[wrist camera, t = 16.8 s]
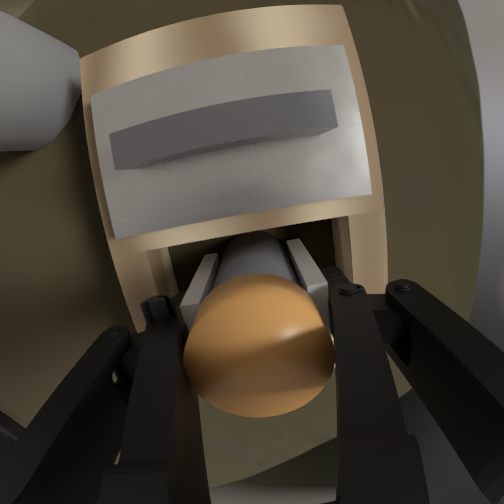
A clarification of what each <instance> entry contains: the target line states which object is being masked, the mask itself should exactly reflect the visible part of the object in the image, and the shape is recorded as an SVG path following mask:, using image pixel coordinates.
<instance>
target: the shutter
mask: <svg viewBox="0 0 504 504" xmlns="http://www.w3.org/2000/svg"><path fill="white" fill-rule="evenodd" d="M90 97H91V107H92V116H93V125H94V132H95V140H96V146H97V153H98V159H99V165H100V170H101V176H102V181H103V186H104V191H105V196H106V200H107V205H108V209H109V214H110V218H111V222H112V226H113V230H114V234H115V238H116V240H117V239H122V238H126V237H131V236H135V235H140V234H145V233H149V232H154V231H159V230H164V229H169V228H174V227H179V226H184V225H189V224H194V223H199V222H204V221H209V220H215V219H220V218H225V217H231V216H236V215H242V214H248V213H253V212H259V211H265V210H271V209H277V208H283V207H289V206H295V205H301V204H308V203H314V202H321V201H328V200H334V199H341V198H348V197H355V196H363V195H370V194H372V190H371V181H370V173H369V165H368V158H367V152H366V145H365V139H364V133H363V127H362V122H361V117H360V112H359V107H358V102H357V97H356V93H355V88H354V84H353V80H352V75H351V71H350V67H349V63H348V60H347V56H346V52H345V49H344V45H316V46H297V47H285V48H274V49H265V50H257V51H250V52H243V53H237V54H231V55H226V56H220V57H215V58H210V59H206V60H201V61H197V62H192V63H188V64H184V65H180V66H177V67H173V68H169V69H166V70H162V71H159V72H155V73H152V74H149V75H146V76H143V77H140V78H137V79H134V80H131V81H128V82H125V83H122V84H120V85H117V86H114V87H112V88H109V89H107V90H104V91H102V92H99V93H97V94H94V95H92V96H90Z"/></svg>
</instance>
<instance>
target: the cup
mask: <svg viewBox="0 0 504 504" xmlns="http://www.w3.org/2000/svg"><path fill="white" fill-rule="evenodd" d="M80 95H81V70H80V58H79V55H78V52H77V51H76V50H74V49H73V48H71V47H69V46H68V45H66V44H64V43H62V42H60V41H59V40H57V39H55V38H53V37H51V36H49V35H48V34H46V33H44V32H42V31H40V30H38V29H36V28H34V27H32V26H30V25H28V24H26V23H24V22H22V21H20V20H18V19H16V18H14V17H12V16H10V15H8V14H6V13H3V12H1V11H0V151H29V150H37V149H39V148H40V147H42V146H44V145H46V144H47V143H49V142H51V141H53V140H54V139H55V137H56V136H57V135H58V134H59V132H60V131H61V130H62V129H63V128H64V126H65V125H66V124H67V123H68V122H69V120H70V118H71V116H72V113H73V111H74V109H75V106H76V104H77V102H78V99H79V97H80Z"/></svg>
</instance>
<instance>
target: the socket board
mask: <svg viewBox="0 0 504 504" xmlns="http://www.w3.org/2000/svg"><path fill="white" fill-rule="evenodd" d="M316 45H344V49H345V52H346V56H347V60H348V63H349V67H350V71H351V75H352V80H353V84H354V88H355V93H356V97H357V102H358V107H359V112H360V117H361V122H362V127H363V133H364V139H365V145H366V152H367V158H368V165H369V173H370V181H371V190H372V194H370V195H363V196H355V197H348V198H341V199H334V200H328V201H321V202H314V203H308V204H301V205H295V206H289V207H283V208H277V209H271V210H265V211H259V212H253V213H248V214H242V215H236V216H231V217H225V218H220V219H215V220H209V221H204V222H199V223H194V224H189V225H184V226H179V227H174V228H169V229H164V230H159V231H154V232H149V233H145V234H140V235H135V236H131V237H126V238H122V239H117V240H116V238H115V234H114V230H113V226H112V222H111V218H110V214H109V209H108V205H107V200H106V196H105V191H104V186H103V181H102V176H101V170H100V165H99V159H98V153H97V146H96V140H95V132H94V125H93V116H92V107H91V97H90V96H92V95H94V94H97V93H99V92H102V91H104V90H107V89H109V88H112V87H114V86H117V85H120V84H122V83H125V82H128V81H131V80H134V79H137V78H140V77H143V76H146V75H149V74H152V73H155V72H159V71H162V70H166V69H169V68H173V67H177V66H180V65H184V64H188V63H192V62H197V61H201V60H206V59H210V58H215V57H220V56H226V55H231V54H237V53H243V52H250V51H257V50H265V49H274V48H285V47H297V46H316ZM80 70H81V88H82V101H83V112H84V121H85V129H86V137H87V144H88V151H89V157H90V163H91V169H92V174H93V180H94V185H95V190H96V195H97V199H98V204H99V209H100V213H101V217H102V221H103V225H104V229H105V233H106V237H107V241H108V245H109V248H110V252H111V255H112V259H113V262H114V266H115V269H116V272H117V276H118V279H119V282H120V285H121V288H122V291H123V294H124V297H125V300H126V303H127V306H128V309H129V312H130V314H131V317H132V320H133V323H134V325H135V328H136V331H137V333H139V332H143V331H145V327H146V321H145V318H144V315H143V312H142V309H141V307H140V304H141V303H142V302H143V301H144V300H146V299H148V298H150V297H152V296H156V295H161V294H169V295H171V296H172V297H173V296H174V295H175V294H177V293H178V292H179V289H178V286H177V282H176V278H175V275H174V271H173V267H172V263H171V259H170V256H169V252H168V248H167V247H169V246H174V245H179V244H185V243H190V242H195V241H201V240H206V239H212V238H217V237H223V236H229V235H234V234H240V233H246V232H251V231H257V230H263V229H269V228H275V227H281V226H287V225H293V224H299V223H305V222H311V221H317V220H323V219H329V218H331V223H332V232H333V241H334V251H335V262H336V267H337V268H339V269H340V270H341V271H342V272H343V273H344V275H345V276H346V277H347V278H348V280H349V281H350V282H351V283H355V284H359V285H362V286H363V287H364V288H365V290H366V293H367V294H384V293H385V288H386V285H387V284H388V270H387V238H386V221H385V208H384V197H383V187H382V178H381V170H380V162H379V155H378V148H377V142H376V136H375V130H374V124H373V119H372V114H371V109H370V104H369V99H368V95H367V90H366V86H365V81H364V77H363V73H362V69H361V65H360V62H359V58H358V54H357V51H356V47H355V44H354V40H353V37H352V34H351V31H350V28H349V24H348V21H347V18H346V15H345V13H344V10H343V7H342V5H287V6H273V7H262V8H253V9H245V10H238V11H231V12H225V13H220V14H214V15H209V16H204V17H200V18H195V19H191V20H187V21H183V22H179V23H175V24H172V25H168V26H164V27H161V28H158V29H155V30H151V31H148V32H145V33H142V34H139V35H136V36H134V37H131V38H128V39H125V40H123V41H120V42H117V43H115V44H112V45H110V46H108V47H105V48H103V49H100V50H98V51H96V52H94V53H91V54H89V55H87V56H85V57H83V58H81V59H80ZM331 339H332V341H333V344H334V338H333V336H332V334H331ZM334 367H335V364H334Z"/></svg>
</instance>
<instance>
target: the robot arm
mask: <svg viewBox="0 0 504 504" xmlns="http://www.w3.org/2000/svg"><path fill="white" fill-rule="evenodd" d="M286 242H287V249H288V256H289V259H290V262H291V264H292V267H293V269H294V272H295V274H296V277H297V279H298V282H299V284H300V287H302V288H303V289H304V290H305V291H306V292H307V293H308V294H309V295H310V296H311V297H312V298H313V300H314V302H315V303H316V305H317V307H318V309H319V311H320V314H321V316H322V318H323V320H324V323H325V325H326V327H327V329H328V332H329V334H330V336H331V334H332V336H333V338H334V349H335V374H336V399H337V484H336V486H337V487H336V501H332V502H328V503H323V504H429V497H428V490H427V484H426V478H425V473H424V468H423V463H422V458H421V453H420V448H419V445H418V442H417V439H416V437H415V436H414V434H412V435H408V434H407V431H406V428H405V423H404V418H403V414H402V410H401V406H400V402H399V398H398V394H397V390H396V386H395V382H394V379H393V375H392V371H391V368H390V364H389V361H388V357H387V354H386V352H387V353H388V354H389V356H390V357H391V358H392V360H393V361H394V363H395V364H396V365H397V367H398V368H399V370H400V371H401V372H402V374H403V375H404V376H405V378H406V379H407V381H408V382H409V383H410V385H411V386H412V388H413V389H414V390H415V392H416V393H417V395H418V396H419V398H420V399H421V401H422V402H423V403H424V405H425V406H426V408H427V409H428V411H429V412H430V414H431V415H432V417H433V418H434V420H435V421H436V423H437V424H438V426H439V427H440V428H441V430H442V432H443V433H444V434H445V436H446V438H447V439H448V441H449V442H450V444H451V445H452V447H453V449H454V450H455V452H456V453H457V455H458V456H459V458H460V459H461V461H462V463H463V464H464V466H465V468H466V469H467V471H468V472H469V474H470V476H471V477H472V479H473V481H474V482H475V484H476V485H477V486H478V488H479V489H480V491H481V492H482V494H484V496H485V497H486V498H487V499H488V500H489V501H490V502H491V503H492V504H504V352H503V351H502V350H500V349H499V348H498V347H497V346H496V345H495V344H493V343H492V342H491V341H490V340H489V339H487V338H486V337H485V336H484V335H483V334H481V333H480V332H479V331H478V330H477V329H475V328H474V327H473V326H472V325H470V324H469V323H468V322H467V321H465V320H464V319H463V318H462V317H460V316H459V315H458V314H457V313H455V312H454V311H453V310H451V309H450V308H449V307H448V306H446V305H445V304H444V303H442V302H441V301H440V300H438V299H437V298H436V297H434V296H433V295H432V294H430V293H429V292H428V291H426V290H425V289H424V288H422V287H421V286H420V285H418V284H417V283H415V282H413V281H409V280H407V279H403V280H402V279H399V280H396V281H392V282H390V283H388V284H387V285H386V288H385V293H384V294H367V293H366V290H365V288H364V287H363V286H362V285H359V284H355V283H351V282H350V281H349V280H348V278H347V277H346V276H345V275H344V273H343V272H342V271H341V270H340V269H339V268H337V267H335V266H327V267H322V268H318V266H317V265H316V263H315V262H314V260H313V259H312V257H311V256H310V254H309V252H308V251H307V249H306V248H305V246H304V245H303V243H302V242H301V240H300V239H294V240H288V241H286ZM219 266H220V261H219V256H218V253H212V254H206V255H205V256H204V258H203V259H202V261H201V263H200V265H199V267H198V269H197V272H196V274H195V276H194V278H193V280H192V282H191V284H190V286H189V288H188V290H187V291H182V292H178V293H177V294H175V295H174V296H173V297H172V296H171V295H169V294H161V295H156V296H152V297H150V298H148V299H146V300H144V301H143V302H142V303H141V304H140V307H141V309H142V312H143V315H144V318H145V321H146V327H145V331H143V332H139V333H136V334H132V335H130V333H129V330H128V328H127V327H125V326H113V327H110V328H108V329H107V330H106V331H104V332H103V333H102V334H100V336H99V337H98V338H97V339H96V340H95V341H94V343H93V344H92V345H91V346H90V347H89V349H88V350H87V351H86V352H85V353H84V355H83V356H82V357H81V358H80V359H79V361H78V362H77V363H76V364H75V366H74V367H73V368H72V369H71V370H70V372H69V373H68V374H67V375H66V377H65V378H64V379H63V380H62V382H61V383H60V384H59V386H58V387H57V388H56V389H55V391H54V392H53V393H52V395H51V396H50V397H49V398H48V400H47V401H46V402H45V404H44V405H43V406H42V408H41V409H40V410H39V412H38V413H37V414H36V416H35V417H34V418H33V420H32V421H31V422H30V424H29V425H28V426H27V428H26V429H25V430H24V429H23V428H22V427H20V426H19V425H18V424H17V423H15V422H14V421H13V420H11V419H10V418H8V417H7V416H5V415H4V414H2V413H1V412H0V504H97V503H98V504H211V500H210V493H209V487H208V480H207V473H206V465H205V457H204V449H203V441H202V432H201V422H200V412H199V402H198V393H197V392H196V391H195V390H194V389H193V387H192V385H191V383H190V380H189V378H188V375H187V373H186V370H185V367H184V364H183V355H184V349H185V345H186V342H187V339H188V336H189V333H190V330H191V327H192V324H193V322H194V319H195V316H196V313H197V310H198V308H199V306H200V304H201V303H202V301H203V300H204V298H205V297H206V296H207V295H208V294H209V293H210V292H211V291H212V289H213V286H214V283H215V279H216V276H217V273H218V270H219ZM385 350H386V351H385ZM113 371H114V373H115V375H116V377H117V381H116V383H114V382H113V380H112V374H113ZM120 449H121V451H120ZM119 451H120V458H119V462H118V464H115V465H114V463H115V460H116V458H117V456H118V453H119Z"/></svg>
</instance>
